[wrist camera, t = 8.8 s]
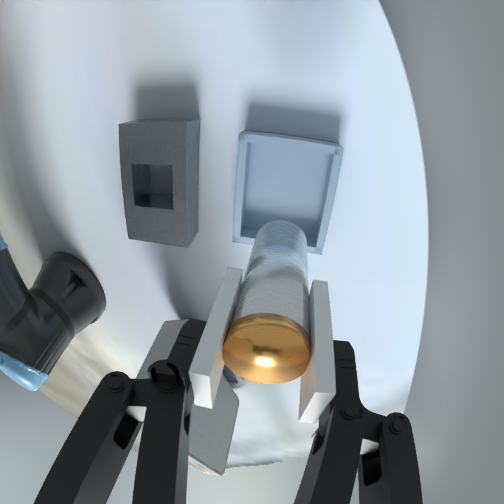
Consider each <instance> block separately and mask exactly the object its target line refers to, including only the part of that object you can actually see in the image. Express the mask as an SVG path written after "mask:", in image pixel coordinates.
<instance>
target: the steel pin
mask: <svg viewBox="0 0 504 504" xmlns="http://www.w3.org/2000/svg"><path fill="white" fill-rule="evenodd" d="M222 359H223V361H224V363H225V364H226V366H227V367H228V368H229V369H230V370H231V371H232V372H234V373H235V374H237V375H238V376H240V377H242V378H245V379H247V380H250V381H254V382H258V383H265V384H277V383H284V382H288V381H291V380H294V379H296V378H298V377H300V376H301V375H302V374H303V373H305V371H306V370H307V367H308V365H309V362H310V338H309V293H308V261H307V241H306V236H305V234H304V232H303V231H302V230H301V228H300V227H298V226H297V225H296V224H294V223H292V222H290V221H286V220H275V221H271V222H269V223H267V224H265V225H264V226H262V227H261V228H260V230H259V231H258V233H257V235H256V239H255V242H254V245H253V249H252V252H251V256H250V259H249V263H248V266H247V270H246V273H245V276H244V280H243V283H242V287H241V290H240V294H239V297H238V301H237V304H236V308H235V311H234V314H233V318H232V321H231V325H230V327H229V329H228V331H227V335H226V338H225V342H224V345H223V348H222Z"/></svg>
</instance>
